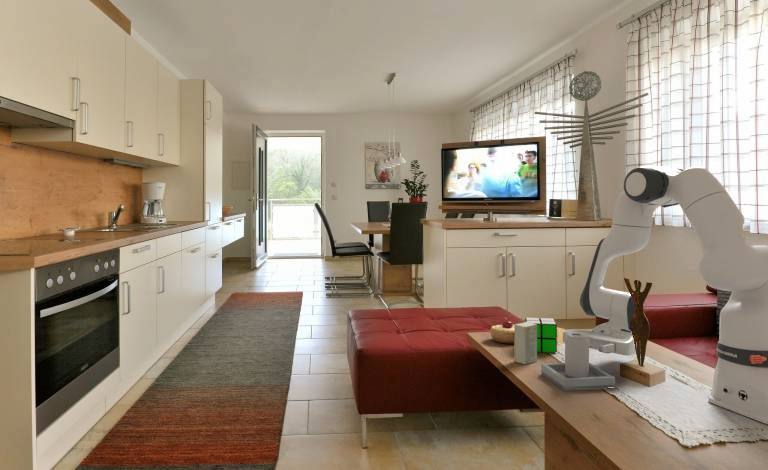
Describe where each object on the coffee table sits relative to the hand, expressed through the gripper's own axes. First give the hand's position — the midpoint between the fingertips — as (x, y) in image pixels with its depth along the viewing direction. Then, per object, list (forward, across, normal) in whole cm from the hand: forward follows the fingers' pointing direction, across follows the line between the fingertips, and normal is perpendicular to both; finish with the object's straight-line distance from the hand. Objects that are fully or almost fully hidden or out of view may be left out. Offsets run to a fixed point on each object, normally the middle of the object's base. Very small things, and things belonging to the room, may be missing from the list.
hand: (585, 346), depth 146 cm
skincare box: (-1, -20, +9) cm, 22 cm away
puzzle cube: (-18, -25, +9) cm, 33 cm away
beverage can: (+4, 0, +8) cm, 9 cm away
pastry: (-18, -40, +10) cm, 45 cm away
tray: (+5, 0, +9) cm, 10 cm away
